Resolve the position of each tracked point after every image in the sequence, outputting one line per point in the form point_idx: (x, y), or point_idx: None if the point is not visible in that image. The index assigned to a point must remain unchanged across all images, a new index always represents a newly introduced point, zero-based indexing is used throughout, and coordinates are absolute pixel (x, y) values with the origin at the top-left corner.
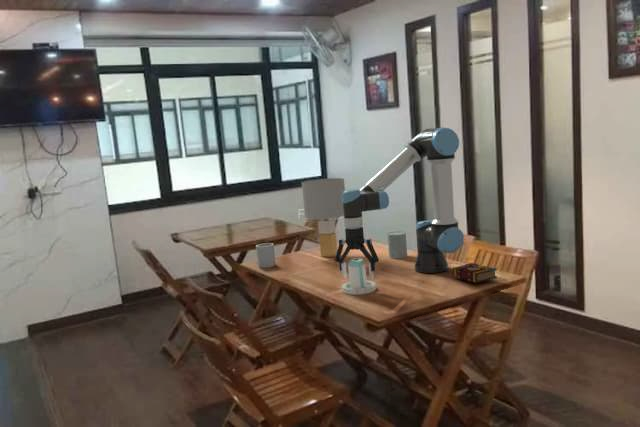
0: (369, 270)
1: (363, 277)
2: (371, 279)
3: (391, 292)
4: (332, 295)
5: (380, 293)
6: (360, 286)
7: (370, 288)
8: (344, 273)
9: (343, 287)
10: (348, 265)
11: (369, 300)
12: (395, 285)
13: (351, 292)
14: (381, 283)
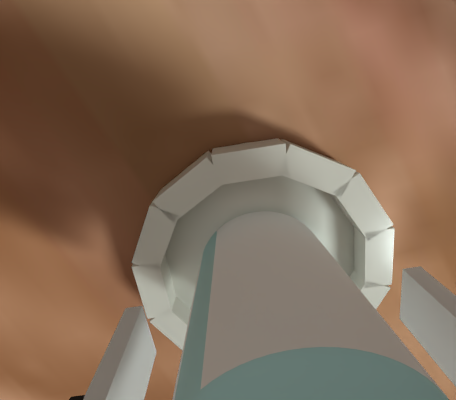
0: (104, 390)
1: (192, 301)
2: (125, 309)
3: (21, 268)
4: (398, 75)
5: (73, 229)
6: (219, 234)
7: (139, 240)
8: (435, 317)
9: (354, 181)
10: (433, 387)
11: (30, 45)
12: None
13: (255, 143)
14: None
